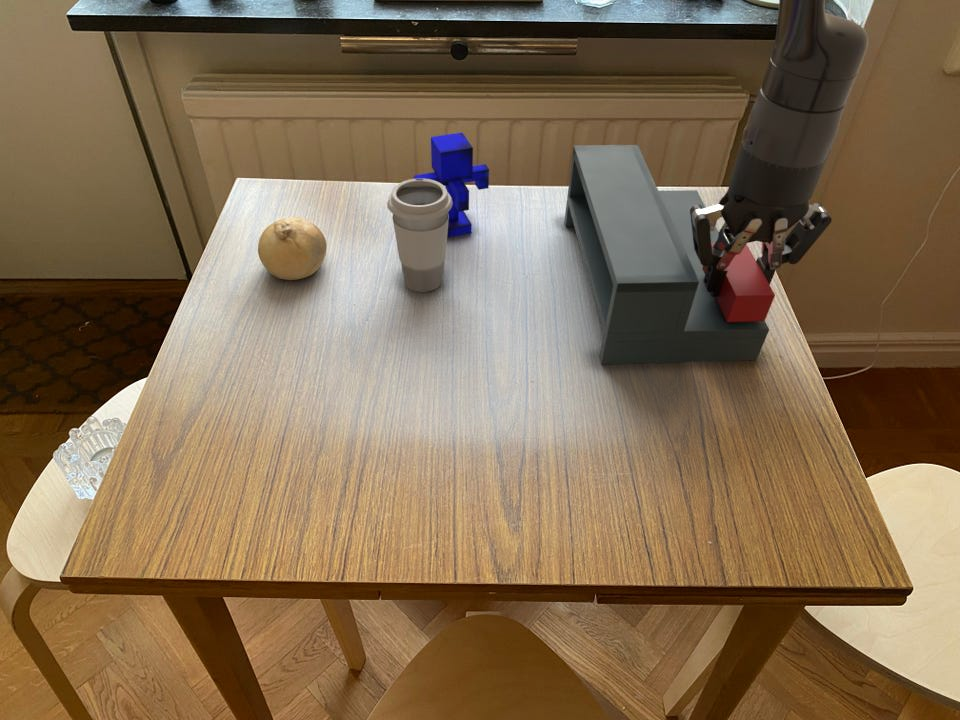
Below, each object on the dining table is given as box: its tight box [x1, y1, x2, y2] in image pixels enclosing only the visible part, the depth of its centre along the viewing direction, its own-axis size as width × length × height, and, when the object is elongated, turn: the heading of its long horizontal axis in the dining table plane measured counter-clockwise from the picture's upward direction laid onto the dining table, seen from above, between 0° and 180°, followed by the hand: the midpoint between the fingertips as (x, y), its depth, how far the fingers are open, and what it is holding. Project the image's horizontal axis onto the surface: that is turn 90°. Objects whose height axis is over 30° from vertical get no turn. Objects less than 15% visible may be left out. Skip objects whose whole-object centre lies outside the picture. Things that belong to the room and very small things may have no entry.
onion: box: [257, 217, 328, 281], centre depth 83 cm, size 8×8×7 cm
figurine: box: [413, 132, 490, 238], centre depth 89 cm, size 8×8×12 cm
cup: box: [386, 178, 453, 293], centre depth 81 cm, size 7×7×12 cm
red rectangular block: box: [702, 243, 776, 322], centre depth 75 cm, size 9×4×4 cm, turn 4°
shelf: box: [564, 144, 770, 365], centre depth 81 cm, size 27×17×11 cm, turn 4°
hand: (733, 290), depth 76 cm, fingers closed on red rectangular block, 4 cm apart
